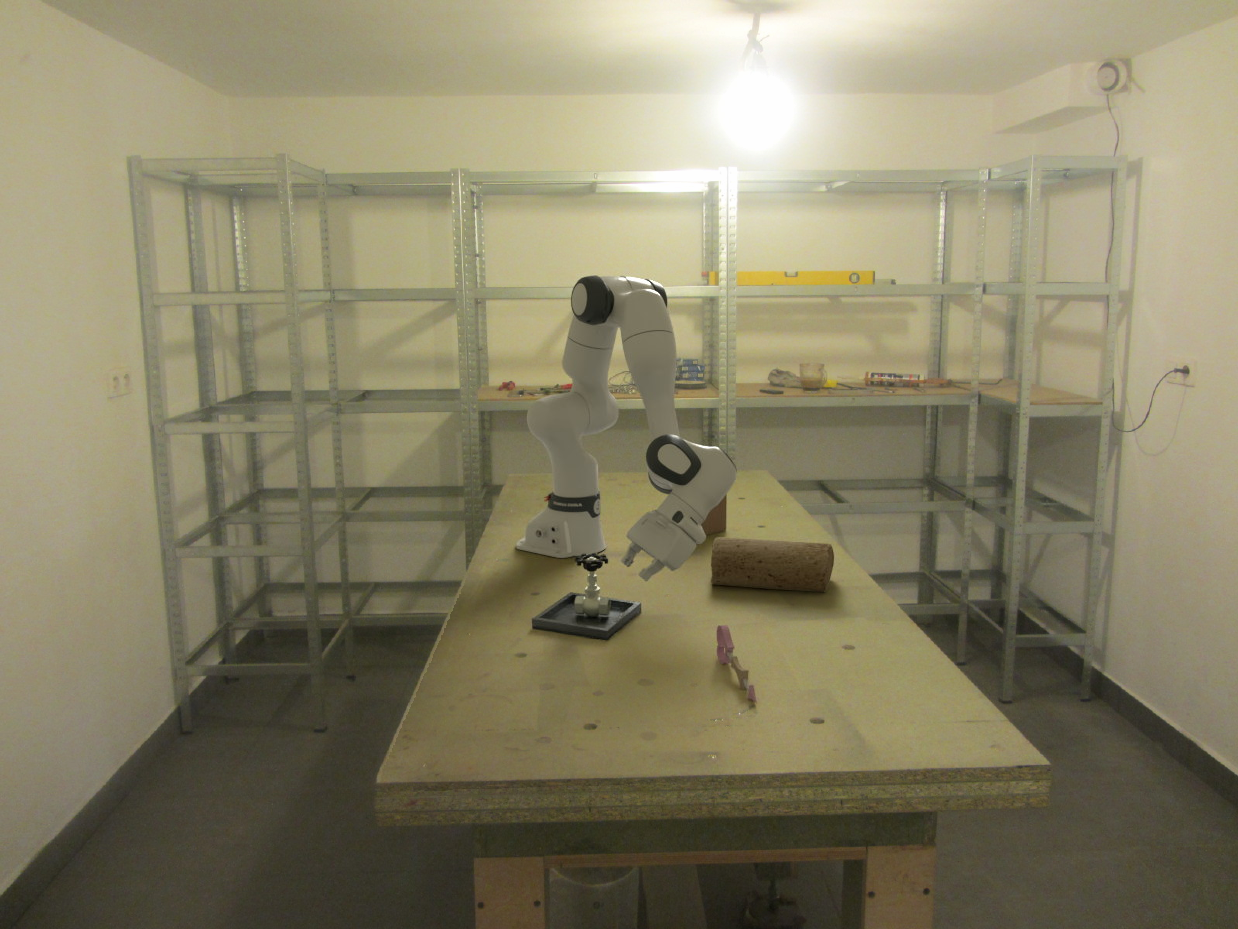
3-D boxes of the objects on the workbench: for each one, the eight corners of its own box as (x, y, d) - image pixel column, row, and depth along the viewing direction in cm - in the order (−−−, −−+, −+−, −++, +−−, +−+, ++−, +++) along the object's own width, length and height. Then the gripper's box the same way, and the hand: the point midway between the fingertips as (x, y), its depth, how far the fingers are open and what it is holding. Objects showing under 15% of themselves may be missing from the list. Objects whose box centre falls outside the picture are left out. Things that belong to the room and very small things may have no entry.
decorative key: (751, 723, 143) (715, 653, 161) (758, 722, 143) (721, 653, 161) (754, 687, 140) (717, 620, 158) (762, 686, 140) (724, 619, 159)
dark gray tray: (532, 628, 174) (531, 618, 174) (570, 601, 189) (570, 592, 188) (607, 641, 168) (606, 631, 167) (641, 611, 182) (641, 602, 182)
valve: (605, 622, 175) (604, 563, 173) (572, 621, 176) (571, 562, 174) (612, 610, 181) (611, 553, 179) (580, 609, 183) (579, 551, 180)
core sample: (715, 570, 208) (715, 528, 206) (833, 578, 201) (835, 534, 199) (704, 590, 194) (704, 546, 192) (830, 600, 187) (832, 553, 185)
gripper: (647, 497, 190) (604, 547, 188) (689, 520, 171) (642, 577, 169) (666, 515, 192) (624, 565, 191) (710, 540, 173) (663, 596, 172)
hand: (633, 571), depth 180 cm, fingers open, 8 cm apart
